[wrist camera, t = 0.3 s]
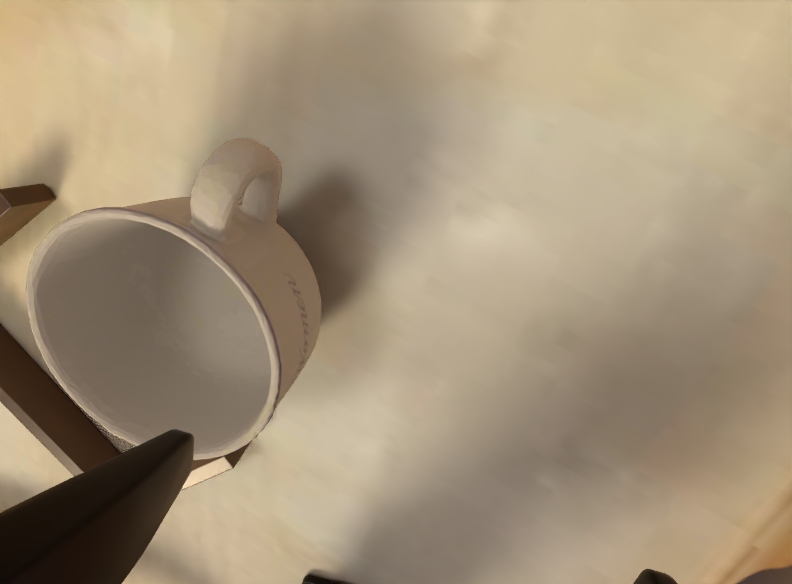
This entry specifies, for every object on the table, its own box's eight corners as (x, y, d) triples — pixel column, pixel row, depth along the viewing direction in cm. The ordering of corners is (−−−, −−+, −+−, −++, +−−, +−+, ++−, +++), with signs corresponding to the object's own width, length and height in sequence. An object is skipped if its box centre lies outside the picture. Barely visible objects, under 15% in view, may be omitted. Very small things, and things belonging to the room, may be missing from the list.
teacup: (267, 396, 26) (191, 503, 19) (120, 282, 24) (-27, 349, 17) (418, 237, 21) (396, 296, 14) (246, 79, 19) (116, 50, 12)
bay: (43, 182, 23) (-3, 189, 20) (252, 439, 27) (233, 468, 25) (-62, 274, 26) (-112, 288, 24) (141, 489, 31) (115, 519, 28)
